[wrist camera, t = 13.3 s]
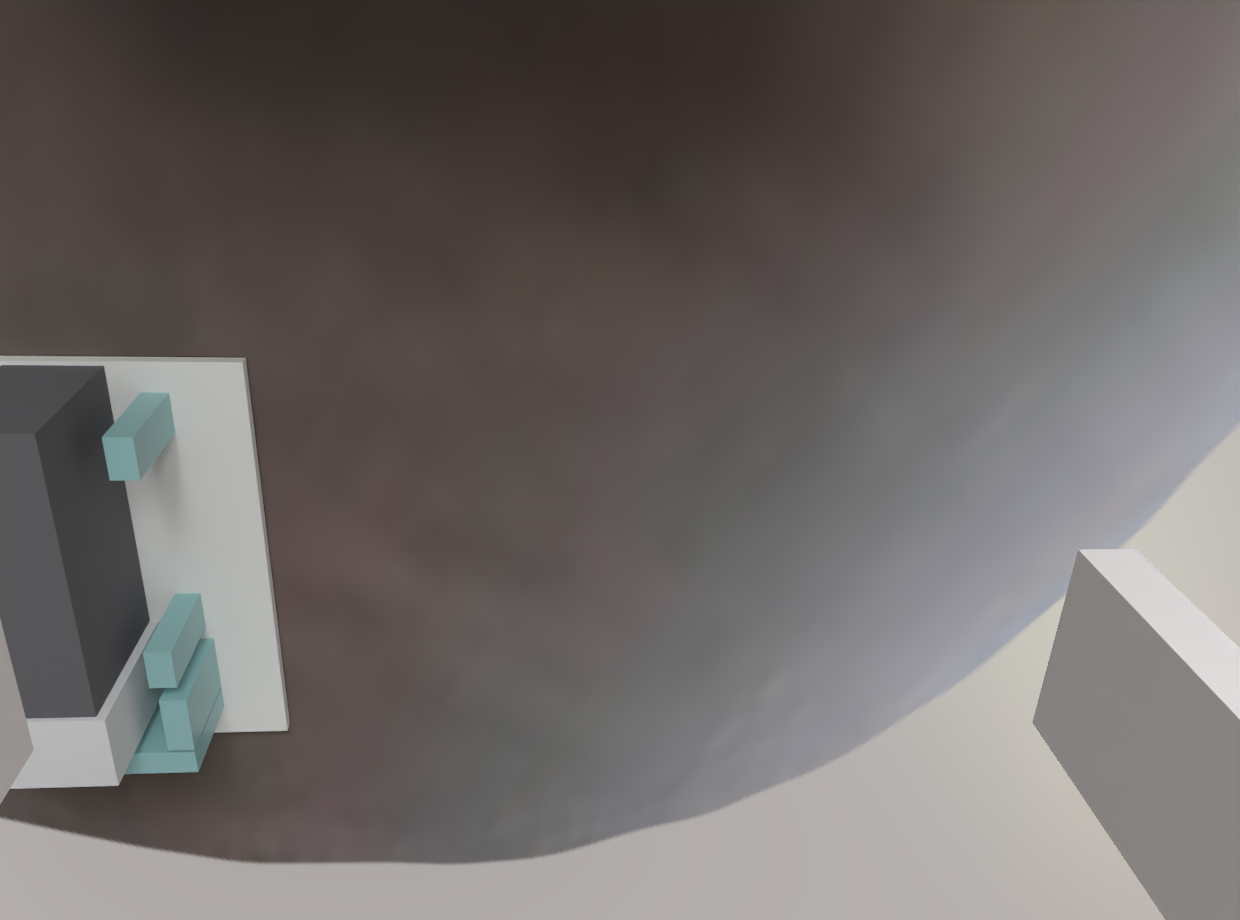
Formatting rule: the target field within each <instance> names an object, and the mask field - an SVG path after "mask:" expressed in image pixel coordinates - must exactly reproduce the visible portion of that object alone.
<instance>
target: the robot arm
mask: <svg viewBox="0 0 1240 920" xmlns="http://www.w3.org/2000/svg"><path fill="white" fill-rule="evenodd" d="M1033 724H1034V725H1035V727H1036V728H1037V730H1038V731H1039V733H1040V734H1041V736H1042V737H1043V738H1044V740H1045V742H1046V743H1047V745H1048V746H1049V748H1050V749H1051V751H1052V752H1053V754H1054V755H1055V756H1056V758H1057V759H1058V761H1059V762H1060V764H1061V765H1062V767H1063V768H1064V770H1065V771H1066V773H1067V774H1068V776H1069V777H1070V779H1071V780H1072V782H1073V783H1074V785H1075V786H1076V788H1077V789H1078V791H1079V792H1080V794H1081V795H1082V797H1083V798H1084V799H1085V801H1086V802H1087V804H1088V805H1089V807H1090V808H1091V810H1092V811H1093V813H1094V814H1095V816H1096V817H1097V819H1098V820H1099V822H1100V823H1101V825H1102V826H1103V828H1104V829H1105V831H1106V832H1107V833H1108V835H1109V837H1110V838H1111V839H1112V841H1113V842H1114V844H1115V845H1116V847H1117V848H1118V850H1119V851H1120V853H1121V854H1122V856H1123V857H1124V859H1125V860H1126V862H1127V863H1128V865H1129V866H1130V868H1131V869H1132V870H1133V872H1134V874H1135V875H1136V877H1137V878H1138V880H1139V881H1140V882H1141V884H1142V885H1143V887H1144V888H1145V890H1146V891H1147V893H1148V894H1149V896H1150V897H1151V899H1152V900H1153V902H1154V903H1155V905H1156V906H1157V908H1158V909H1159V911H1160V912H1161V914H1162V915H1163V917H1164V918H1165V919H1166V920H1240V648H1239V647H1238V646H1237V645H1236V644H1235V643H1234V642H1233V641H1232V640H1231V639H1230V638H1228V637H1227V636H1226V635H1225V634H1224V633H1223V632H1222V631H1221V630H1220V629H1219V628H1218V627H1217V626H1216V625H1215V624H1214V623H1213V622H1212V621H1211V620H1210V619H1209V618H1207V617H1206V616H1205V615H1204V614H1203V613H1202V612H1201V611H1200V610H1199V609H1198V608H1197V607H1196V606H1195V605H1194V604H1193V603H1192V602H1191V601H1190V600H1189V599H1187V597H1186V596H1184V595H1183V594H1182V593H1181V592H1180V591H1179V590H1178V589H1177V588H1176V587H1175V586H1174V585H1173V584H1172V583H1171V582H1170V581H1169V580H1168V579H1167V578H1166V577H1165V576H1164V575H1162V574H1161V573H1160V572H1159V571H1158V570H1157V569H1156V568H1155V567H1154V566H1153V565H1152V564H1151V563H1150V562H1149V561H1148V560H1147V559H1146V558H1145V557H1144V556H1143V555H1141V554H1140V553H1139V552H1138V551H1137V550H1136V549H1085V550H1078V553H1077V557H1076V561H1075V564H1074V568H1073V572H1072V576H1071V579H1070V583H1069V587H1068V591H1067V594H1066V598H1065V602H1064V606H1063V610H1062V613H1061V617H1060V621H1059V625H1058V629H1057V632H1056V636H1055V640H1054V643H1053V648H1052V651H1051V655H1050V659H1049V662H1048V666H1047V670H1046V674H1045V677H1044V681H1043V685H1042V689H1041V692H1040V696H1039V700H1038V704H1037V708H1036V711H1035V715H1034V719H1033ZM33 750H34V748H33V744H32V740H31V736H30V732H29V728H28V725H27V721H26V717H25V713H24V709H23V705H22V701H21V697H20V693H19V690H18V686H17V682H16V678H15V674H14V670H13V666H12V662H11V658H10V655H9V651H8V647H7V643H6V639H5V635H4V631H3V627H2V623H1V620H0V804H1V802H2V801H3V799H4V797H5V796H6V794H7V793H8V791H9V789H10V788H11V786H12V784H13V783H14V781H15V779H16V778H17V776H18V775H19V773H20V771H21V770H22V768H23V766H24V765H25V763H26V762H27V760H28V758H29V757H30V755H31V753H32V752H33Z"/></svg>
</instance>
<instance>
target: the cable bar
mask: <svg viewBox="0 0 1240 920" xmlns="http://www.w3.org/2000/svg"><path fill="white" fill-rule="evenodd" d="M113 424H114V419H113V413H112V408H111V402H110V396H109V391H108V385H107V380H106V374H105V369H104V366H63V365H1V366H0V620H1V623H2V627H3V631H4V635H5V639H6V643H7V647H8V651H9V655H10V658H11V662H12V666H13V670H14V674H15V678H16V682H17V686H18V690H19V693H20V697H21V701H22V705H23V709H24V713H25V717H26V721H27V725H28V728H29V732H30V736H31V740H32V744H33V748H34V750H33V752H32V753H31V755H30V757H29V758H28V760H27V762H26V763H25V765H24V766H23V768H22V770H21V771H20V773H19V775H18V776H17V778H16V779H15V781H14V783H13V784H12V786H11V788H10V789H21V788H56V787H90V786H119V784H120V782H121V780H122V778H123V776H124V774H125V771H126V769H127V767H128V765H129V763H130V761H131V759H132V757H133V755H134V753H135V751H136V749H137V747H138V745H139V742H140V740H141V738H142V736H143V734H144V732H145V730H146V728H147V726H148V724H149V722H150V720H151V718H152V716H153V713H154V711H155V709H156V707H157V705H158V703H159V699H160V697H161V695H162V693H163V691H164V689H165V688H149V684H148V679H147V673H146V668H145V663H144V658H143V652H144V650H145V648H146V646H147V644H148V642H149V640H150V639H151V637H152V635H153V633H154V631H155V629H156V627H157V626H158V624H159V620H156V621H150V618H149V612H148V607H147V601H146V596H145V590H144V585H143V579H142V573H141V568H140V562H139V557H138V551H137V546H136V540H135V535H134V529H133V524H132V518H131V513H130V507H129V502H128V496H127V490H126V485H125V481H110V479H109V474H108V468H107V463H106V458H105V453H104V447H103V442H102V436H103V435H104V434H105V433H106V432H107V431H108V430H109V428H110V427H111V426H112V425H113Z"/></svg>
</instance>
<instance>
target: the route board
mask: <svg viewBox="0 0 1240 920" xmlns="http://www.w3.org/2000/svg"><path fill="white" fill-rule="evenodd" d="M1 365H63V366H104V369H105V374H106V380H107V385H108V391H109V396H110V402H111V408H112V413H113V419H114V424H113V425H112V426H111V427H110V428H109V430H108V431H107V432H106V433H105V434H104V435H103V436H102V442H103V447H104V453H105V458H106V463H107V468H108V474H109V479H110V481H125V485H126V490H127V496H128V502H129V507H130V513H131V518H132V524H133V529H134V535H135V540H136V546H137V551H138V557H139V562H140V568H141V573H142V579H143V585H144V590H145V596H146V601H147V607H148V612H149V618H150V621H156V620H159V624H158V626H157V627H156V629H155V631H154V633H153V635H152V637H151V639H150V640H149V642H148V644H147V646H146V648H145V650H144V652H143V658H144V663H145V668H146V673H147V679H148V684H149V688H165V689H164V691H163V693H162V695H161V697H160V699H159V703H158V705H157V707H156V709H155V711H154V713H153V716H152V718H151V720H150V722H149V724H148V726H147V728H146V730H145V732H144V734H143V736H142V738H141V740H140V742H139V745H138V747H137V749H136V751H135V753H134V755H133V757H132V759H131V761H130V763H129V765H128V767H127V769H126V771H125V774H147V773H181V772H199V769H200V767H201V764H202V762H203V759H204V757H205V754H206V752H207V749H208V746H209V744H210V741H211V739H212V736H213V734H214V733H219V732H257V731H288V728H289V724H290V721H289V712H288V704H287V696H286V687H285V679H284V671H283V663H282V654H281V646H280V638H279V629H278V621H277V613H276V605H275V596H274V588H273V580H272V571H271V563H270V555H269V546H268V538H267V530H266V522H265V513H264V505H263V497H262V488H261V480H260V472H259V464H258V455H257V447H256V439H255V430H254V422H253V414H252V405H251V397H250V389H249V381H248V372H247V364H246V358H225V357H97V356H0V366H1Z"/></svg>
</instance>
